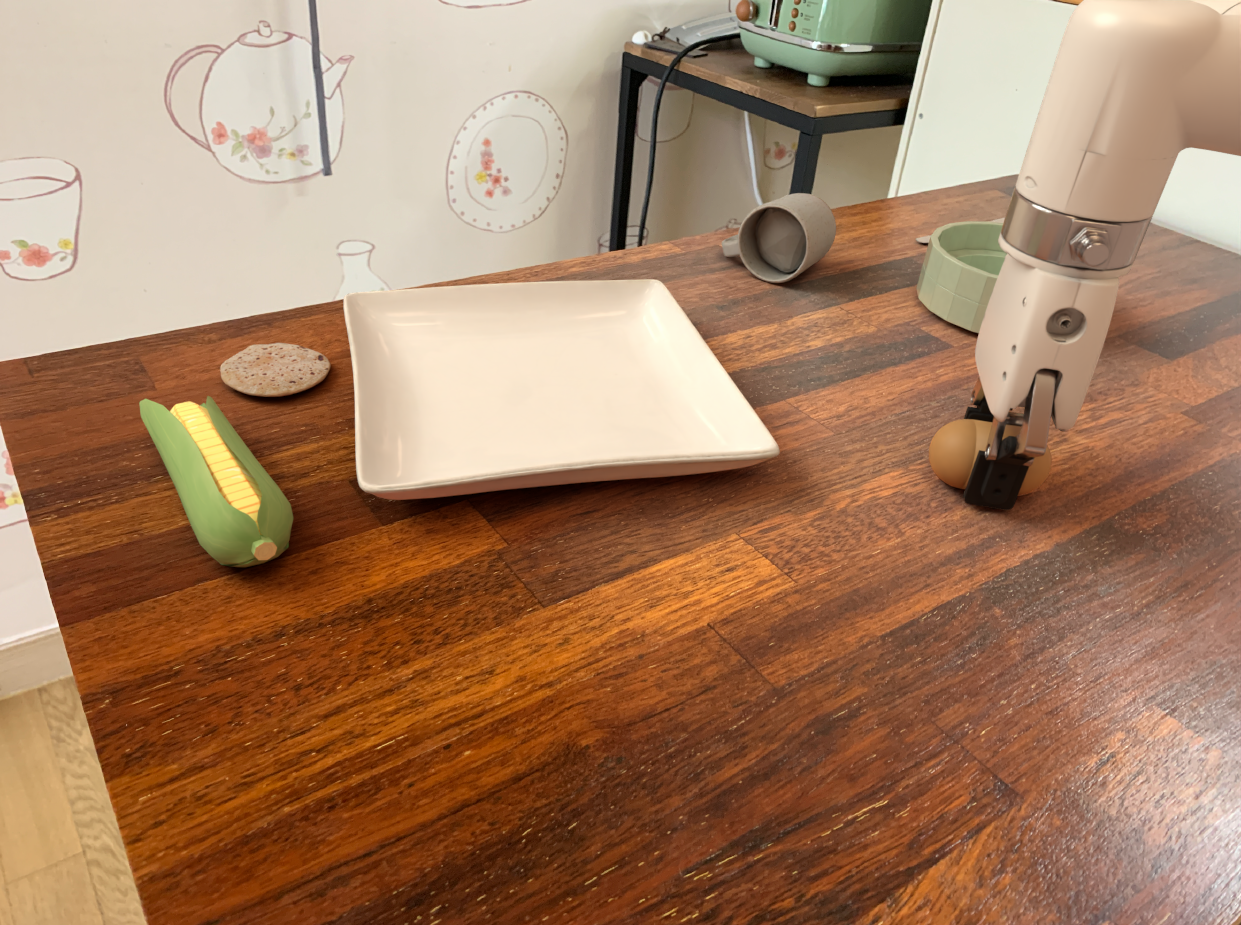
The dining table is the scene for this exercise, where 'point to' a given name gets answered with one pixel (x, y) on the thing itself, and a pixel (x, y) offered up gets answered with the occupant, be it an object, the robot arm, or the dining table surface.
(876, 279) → the dining table surface
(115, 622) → the dining table surface
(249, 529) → the edible corn
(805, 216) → the ceramic mug
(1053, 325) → the robot arm
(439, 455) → the square plate
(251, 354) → the flatbread
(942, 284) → the bowl
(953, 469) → the tan rounded oval piece
